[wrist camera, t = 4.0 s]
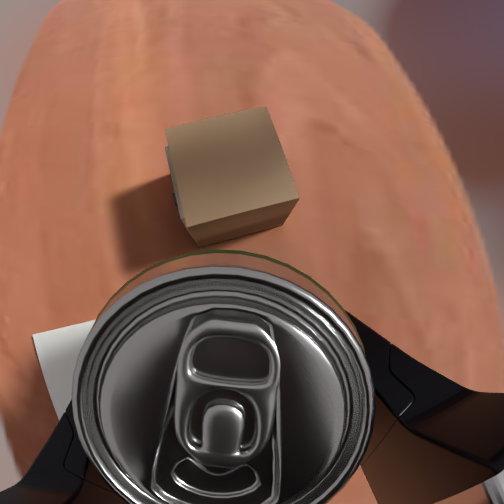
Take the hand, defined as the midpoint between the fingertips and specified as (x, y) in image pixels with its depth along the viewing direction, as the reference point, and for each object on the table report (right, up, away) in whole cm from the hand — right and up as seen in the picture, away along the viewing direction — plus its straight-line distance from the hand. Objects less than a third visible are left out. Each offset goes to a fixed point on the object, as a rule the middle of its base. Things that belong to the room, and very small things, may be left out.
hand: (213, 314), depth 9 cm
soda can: (0, -2, +7) cm, 7 cm away
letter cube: (0, +5, +8) cm, 9 cm away
